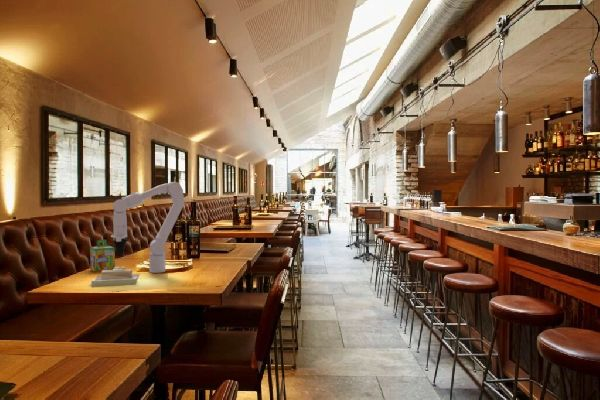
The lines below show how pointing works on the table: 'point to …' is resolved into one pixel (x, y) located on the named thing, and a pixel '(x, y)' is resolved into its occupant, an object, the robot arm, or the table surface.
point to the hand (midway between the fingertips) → (120, 255)
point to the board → (122, 284)
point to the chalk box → (102, 257)
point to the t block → (116, 274)
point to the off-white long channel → (114, 282)
